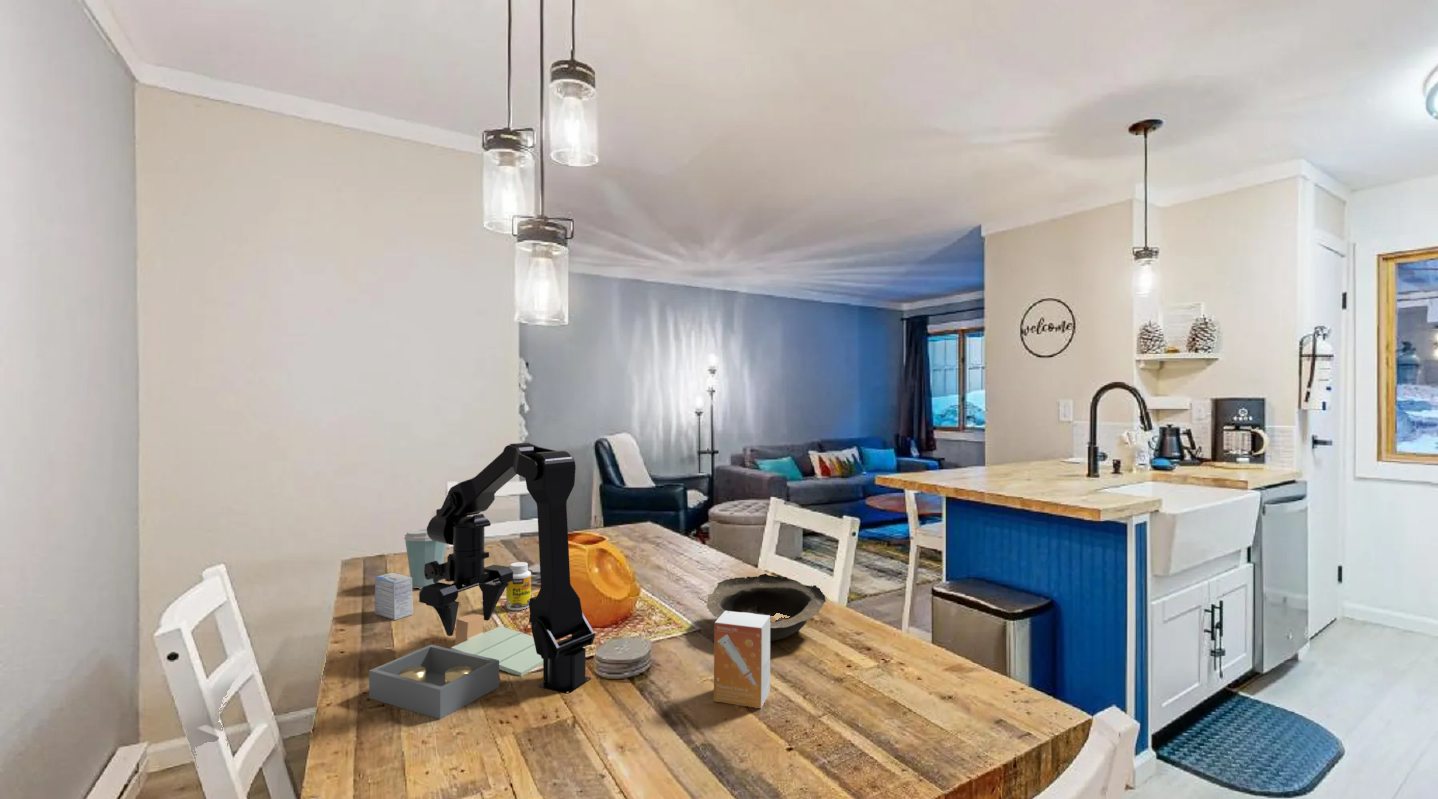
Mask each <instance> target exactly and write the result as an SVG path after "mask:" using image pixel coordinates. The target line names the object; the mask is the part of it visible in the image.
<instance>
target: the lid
mask: <svg viewBox="0 0 1438 799" xmlns="http://www.w3.org/2000/svg"><path fill="white" fill-rule="evenodd" d="M484 622H485V620H484V616H483V615H481V614H478V613H476V612H475V613H474V612H471V613H467V614H466V615H464V616H461V617H458V618H456V623H455V640H454V641H455V642H454V645H453V646H451V647H450V649H453V650H457V651H461V652H466V653H470V654H474V655H479V656H483V657H487V658H492V659H496V660H499V671H503V672H506V673H508V674H510V675H511V674H512V675H516V676H521V677H522V676H524V675H525V674H527V673H530V672H531V671H532V670H535V669H536V668H538V667H540V666H543V659H542V658H541V655H538V654H537V652H536V648H535V643H534V638H533V635H530V634H526V633H523V631H517V630H516V629H511V628H508V627H506V626H502V625H499V626H497V627H494V628H492V629H491V630H488V631H485V632H484Z"/></svg>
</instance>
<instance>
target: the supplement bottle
mask: <svg viewBox="0 0 1438 799" xmlns="http://www.w3.org/2000/svg"><path fill="white" fill-rule="evenodd" d="M528 565H529V563H527V562H525V561H518V562H517V561H516V562H512V563H510V565H509V567H510V568H511V570H512V571H513V581H510V582H508V583H509V585H508V586H507V587H506V588H505V589H506V590H505V591H506V595H505V596H506V597H505V598H506V600H505V603H506V605H505V606H506V609H507V610H509V611H523V609H524V610H527V609H528V608H529V601H530V598H532V572H531V571H530V570H529V566H528ZM526 608H527V609H526Z"/></svg>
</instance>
